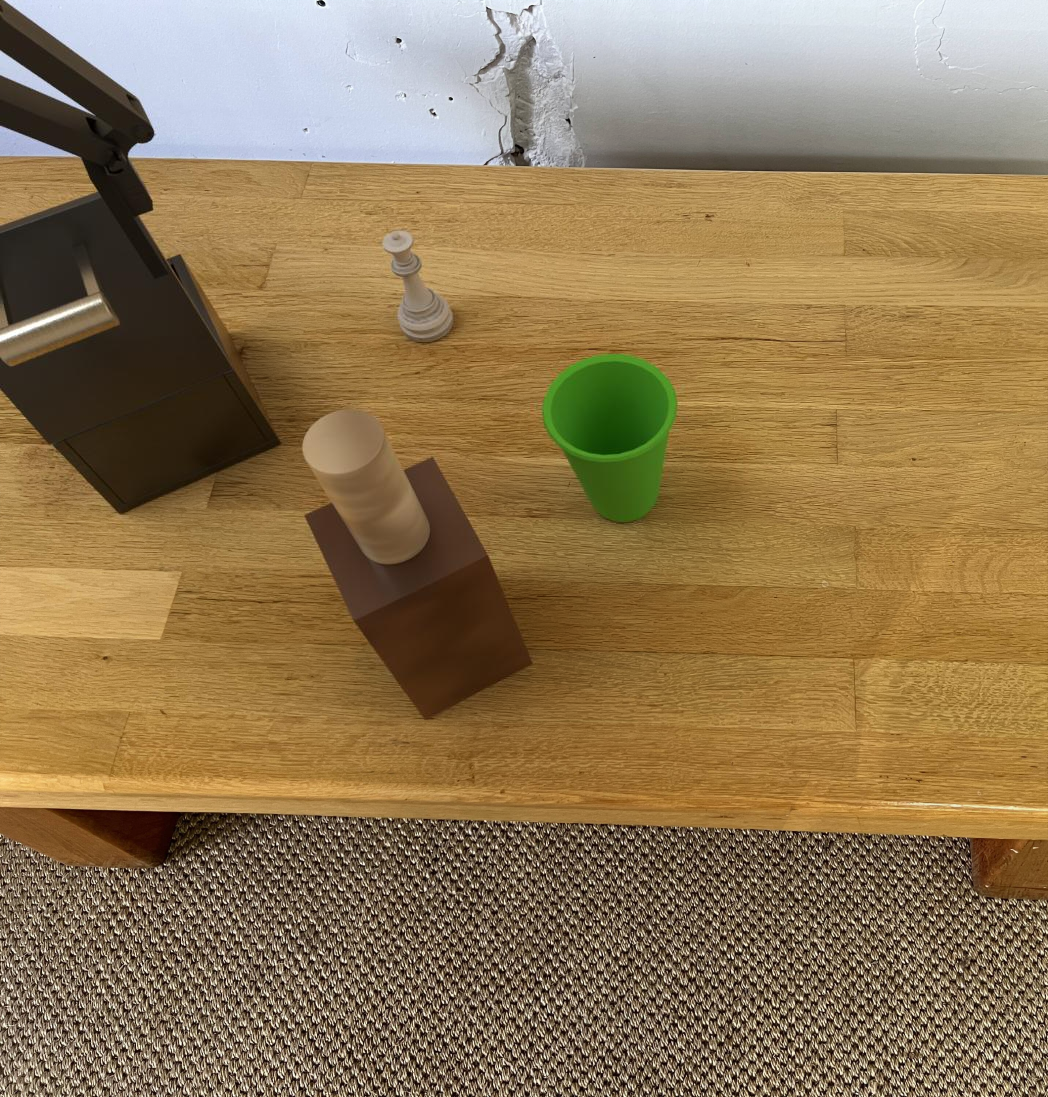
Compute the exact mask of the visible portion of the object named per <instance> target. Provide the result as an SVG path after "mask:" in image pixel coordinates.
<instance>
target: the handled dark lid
mask: <svg viewBox="0 0 1048 1097" xmlns="http://www.w3.org/2000/svg"><path fill="white" fill-rule="evenodd" d="M138 217H139V218H140V220H141V222H142V223H143V225H144V226H145V228H146V230H147V231H148V233H149V234H150V236H151V238H152V239H153V241H154V242H155V244H156V246H157V249H158V251H159V253H160V255H161V258H162V260H163V262H164V264H165V266H166V269H167V271H168V273H169V274H167V275H165V276H162V277H159V278H157V279H154V277H153V275H152V274H151V272H150V271H149V269H148V268H147V266H146V265H145V263H144V262H143V260H142V259H141V257H140V255H139V254H138V252H137V251H136V249H135V248H134V246H133V245H132V243H131V242H130V240H129V238H128V237H127V235H126V234H125V232H124V231H123V229H122V228H121V226H120V225H119V223H118V222H117V220H116V218H115V217H114V215H113V214H112V212H111V211H110V209H109V208H108V206H107V205H106V203H105V201H104V200H103V198H102V197H101V195H100V194H99V192H98V191H95V192H93V193H90V194H86V195H84V196H80V197H78V198H76V199H73V200H69V201H67V202H64V203H61V204H59V205H55V206H52V207H49V208H47V209H44V210H41V211H38V212H35V213H32V214H30V215H27V216H24V217H21V218H19V219H15V220H13V221H9V222H7V223H3V224H1V225H0V391H1V392H2V393H3V394H4V395H5V397H7V399H8V400H9V401H10V402H11V403H12V404H13V406H14V407H15V408H16V409H17V410H18V411H19V413H21V415H22V416H23V417H24V418H25V419H26V420H27V421H28V423H29V424H30V425H31V426H32V427H33V428H34V429H35V430H36V431H37V433H38V434H39V435H40V436H41V437H42V439H43V440H44V441H45V442H46V443H47V444H48V445H52V443H54V442H57V441H59V440H62V439H64V438H67V437H69V436H71V435H74V434H76V433H79V432H81V431H84V430H86V429H89V428H91V427H93V426H96V425H98V424H101V423H103V422H106V421H108V420H111V419H113V418H115V417H118V416H120V415H123V414H125V413H128V412H130V411H133V410H135V409H137V408H140V407H142V406H145V405H147V404H150V403H152V402H155V401H157V400H159V399H162V398H164V397H167V396H169V395H172V394H174V393H177V392H179V391H181V390H184V389H186V388H189V387H191V386H194V385H196V384H199V383H201V382H203V381H206V380H208V379H211V378H213V377H216V376H218V375H221V374H223V373H225V372H228V371H230V370H233V368H232V365H231V363H230V361H229V360H228V358H227V357H226V355H225V353H224V352H223V350H222V349H221V347H220V345H219V344H218V342H217V340H216V339H215V337H214V336H213V334H212V332H211V331H210V329H209V328H208V326H207V324H206V323H205V321H204V319H203V318H202V316H201V315H200V313H199V311H198V310H197V308H196V307H195V305H194V303H193V302H192V300H191V299H190V297H189V295H188V294H187V292H186V290H185V289H184V287H183V286H182V284H181V282H180V281H179V279H178V278H177V276H176V274H175V273H174V271H173V269H172V268H171V266H170V265H169V263H168V261H167V260H166V259H167V257H166V256H165V254H163V252H162V250H161V249H160V247H159V245H158V244H157V242H156V241H155V239H154V237H153V235H152V234H151V232H150V231H149V229H148V228H147V226H146V224H145V223H144V221H143V219H142V218H141V215H139V216H138Z"/></svg>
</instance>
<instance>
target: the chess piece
mask: <svg viewBox="0 0 1048 1097" xmlns="http://www.w3.org/2000/svg"><path fill="white" fill-rule="evenodd" d="M414 242H415V241H414V237H413V236H412V234H411V233H410V232H408V231H405V230H393V231H392V232H389V233H388V234H387V235H385V236H384V237H383V239H382V242H381V243H382V248H383V250H384V251H385V252H387V253H388V254H390V255H392V256H393V258H392V259H391V261H390V269H391V271H392V273H393V274H394V275H395V276H397V277H399V278H401V279H402V281H403V285H404V286H403V287H404V294H403V295H402V297H401V303H400V305H399V307H398V310H397V320H398V322H399V326H400V329H401V331H402V333H403V334H404V335H405V337H406V338H408V339H409V340H411V341H414V342H417V343H428V342H429V343H430V342H433V341H438V340H439V339H441V338H443V337H445V335H447V334H448V333H449V332H450V330H451V329H452V328H453V325H454V315H453V312H452V309H451V307H450V305H449V302H448V300H447V299H446V298H445V297H443V296H442V295H440V294H439V293H437V292H435V291H434V290H433V289H432V288H430V287H428V286H426V285H425V284H424V282H423V280H422V279H421V276H420V274H419V272H420V271H421V269H422V265H423V263H422V260H421V257H420V256H419V255H418V254H416V253H413V252H412V251H411V249H412V248H413V247H414Z"/></svg>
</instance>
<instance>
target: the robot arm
mask: <svg viewBox="0 0 1048 1097" xmlns="http://www.w3.org/2000/svg"><path fill="white" fill-rule="evenodd" d="M0 52H1V53H3V54H4V55H5V56H7V57H9V58H10V59H12V60H13V61H15V62H16V63H18V64H19V65H21V66H22V67H24V69H27V71H29V72H31V73H32V74H34V75H35V76H36V77H38V78H39V79H41V80H43V81H44V82H45V83H47V84H49V86H51V87H53V88H54V89H55V90H57V91H59V93H61V94H63V95H64V96H66V97H67V98H68V99H70V100H71V101H73V102H74V103H76V104H78V105H79V106H80V107H82V108H83V109H85V110H86V111H85V110H83V109H80V108H78V107H76V106H73V105H72V104H69V103H67V102H65V101H62V100H60V99H57V98H55V97H53V96H50V95H48V94H46V93H43V92H41V91H39V90H36V89H34V88H32V87H30V86H27V85H25V84H23V83H20V82H17V81H15V80H13V79H10V78H8V77H6V76H3V75H1V74H0V127H2V128H5V129H8V130H10V131H12V132H14V133H18V134H20V135H23V136H25V137H28V138H29V139H30V138H31V139H32V140H35V141H38V142H40V143H42V144H45V145H48V146H51V147H53V148H55V149H59V150H61V151H63V152H66V153H69V154H71V155H74V156H76V157H78V158H80V159H81V161H82V163H83V166H84V169H85V170H86V173H87V176H88V178H89V180H90V181H91V183H92V185H93V186H94V188H95V189H96V192H99V194H100V195H101V197H102V198H103V200H104V201H105V203H106V205H107V206H108V208H109V209H110V211H111V212H112V214H113V215H114V217H115V218H116V220H117V222H118V223H119V225H120V226H121V228H122V229H123V231H124V232H125V234H126V235H127V237H128V238H129V240H130V242H131V243H132V245H133V246H134V248H135V249H136V251H137V252H138V254H139V255H140V257H141V259H142V260H143V262H144V263H145V265H146V266H147V268H148V269H149V271H150V272H151V274H152V275H153V277H154V279H157V278H159V277H162V276H165V275H167V274H169V273H168V271H167V269H166V266H165V264H164V262H163V260H162V258H161V255H160V253H159V251H158V249H157V246H156V244H157V243H156V244H155V242H156V241H155V242H154V241H153V239H154V238H153V239H152V238H151V236H152V235H151V236H150V234H151V233H150V234H149V233H148V231H149V230H148V231H147V230H146V228H147V227H146V228H145V226H146V225H145V226H144V225H143V223H144V222H143V223H142V222H141V220H140V218H141V217H140V218H139V217H138V216H141V215H145V214H147V213H150V212H153V211H154V204H153V202H154V201H153V199H152V197H151V195H150V193H149V190H148V188H147V186H146V184H145V182H144V181H143V179H142V177H141V176H140V174H139V172H138V171H137V169H136V167H135V166H134V164H133V163H132V161H131V159H130V157H129V153H130V151H131V150H132V148H134V147H135V146H136V145H137V144H141V145H145V144H148V143H149V142H151V141H152V140H153V139H154V137H155V130H154V127H153V124H152V123H151V121H150V118H149V117H148V114H147V112H146V111H145V109H144V107H143V105H142V102H141V101H140V98H138V97H137V96H136V95H134V93H132V92H130V91H129V90H128V89H126V88H125V87H124V86H122V85H121V84H119V83H118V82H116V81H115V80H114V79H113V78H111V77H110V76H109V75H107V74H106V73H104V72H103V71H101V70H100V69H99V68H98V67H96V66H95V65H94V64H92V63H91V62H90V61H88V60H87V59H85V58H84V57H83V56H81V55H79V54H78V53H77V52H75V51H74V50H73V49H72V48H70V47H69V46H67V45H66V44H64V43H63V42H62V41H60V40H59V39H58V38H56V37H55V36H54V35H52V34H51V33H50V32H48V31H47V30H45V29H44V28H43V27H42V26H40V25H39V24H38V23H36V22H35V21H34V20H32V19H30V18H29V17H27V16H26V15H25V14H24V13H22V12H21V11H19V10H18V9H16V7H14V6H13V5H11V4H10V3H9V2H7V1H6V0H0Z"/></svg>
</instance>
